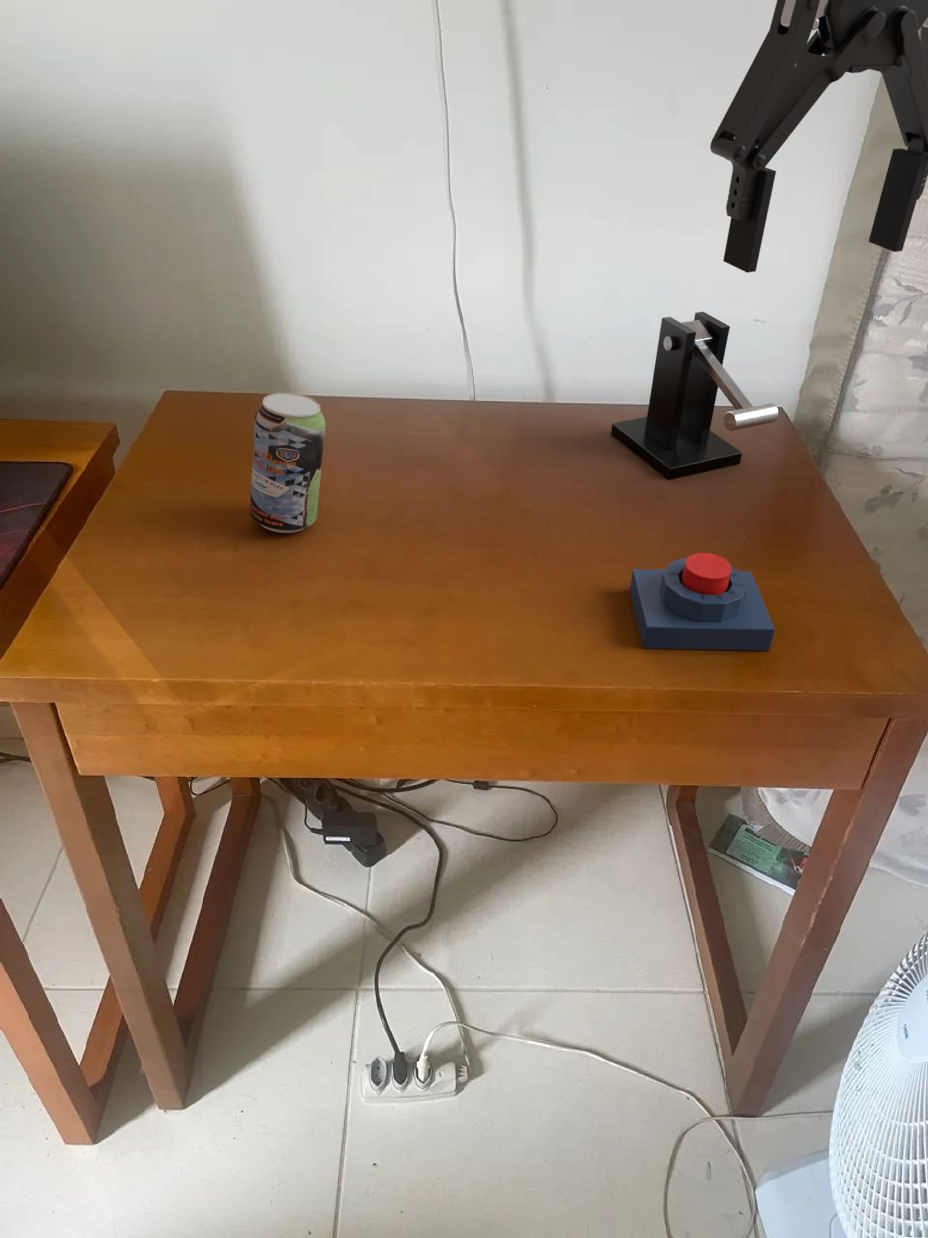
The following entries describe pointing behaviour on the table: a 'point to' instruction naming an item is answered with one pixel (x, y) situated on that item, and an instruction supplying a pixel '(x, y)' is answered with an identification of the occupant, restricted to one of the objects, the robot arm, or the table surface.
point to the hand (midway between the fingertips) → (814, 256)
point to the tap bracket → (681, 406)
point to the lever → (729, 386)
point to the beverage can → (287, 462)
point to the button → (706, 574)
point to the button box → (699, 612)
